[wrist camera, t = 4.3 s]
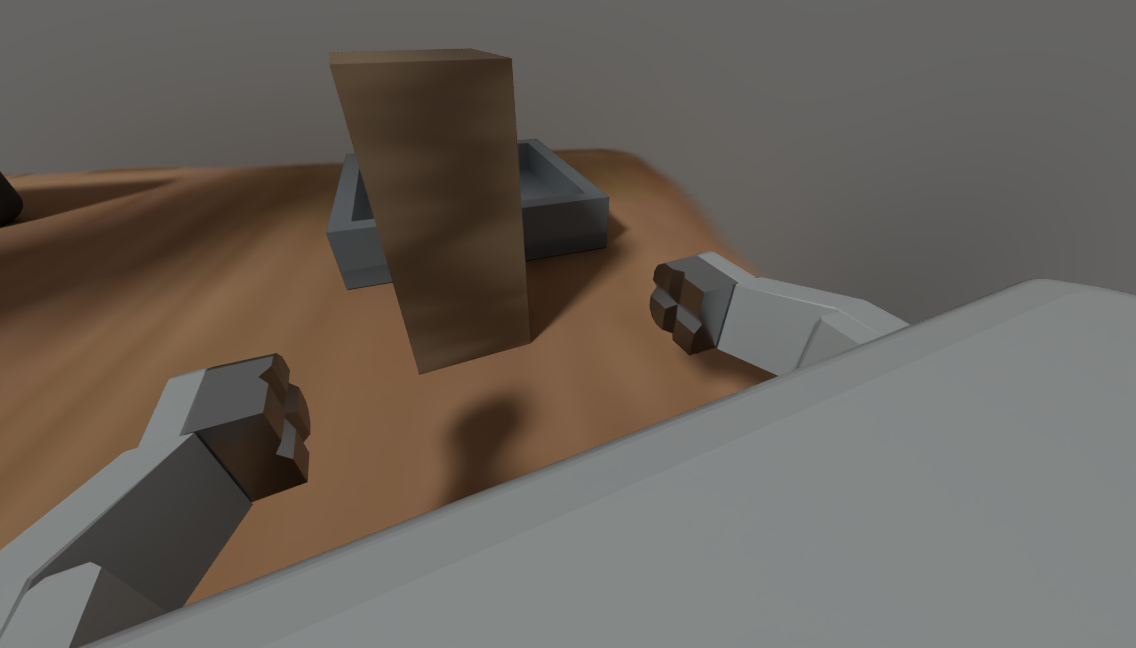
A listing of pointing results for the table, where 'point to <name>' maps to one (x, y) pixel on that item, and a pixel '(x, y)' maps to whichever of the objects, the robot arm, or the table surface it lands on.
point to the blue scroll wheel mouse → (8, 201)
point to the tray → (549, 213)
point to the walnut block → (442, 193)
